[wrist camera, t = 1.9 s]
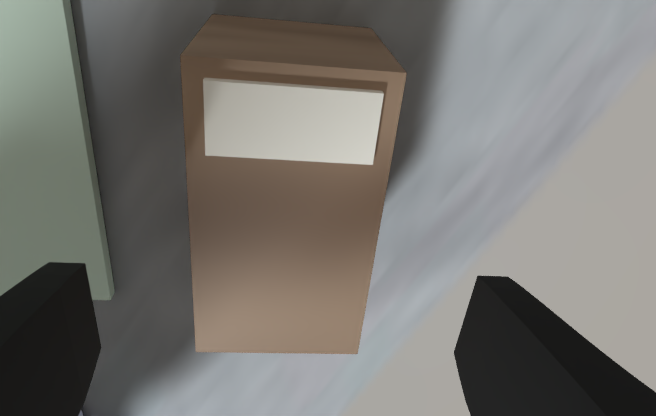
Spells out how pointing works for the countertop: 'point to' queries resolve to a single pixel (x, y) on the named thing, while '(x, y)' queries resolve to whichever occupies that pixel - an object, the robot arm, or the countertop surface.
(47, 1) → the sage mat
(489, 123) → the countertop surface
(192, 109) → the labeled brown box
